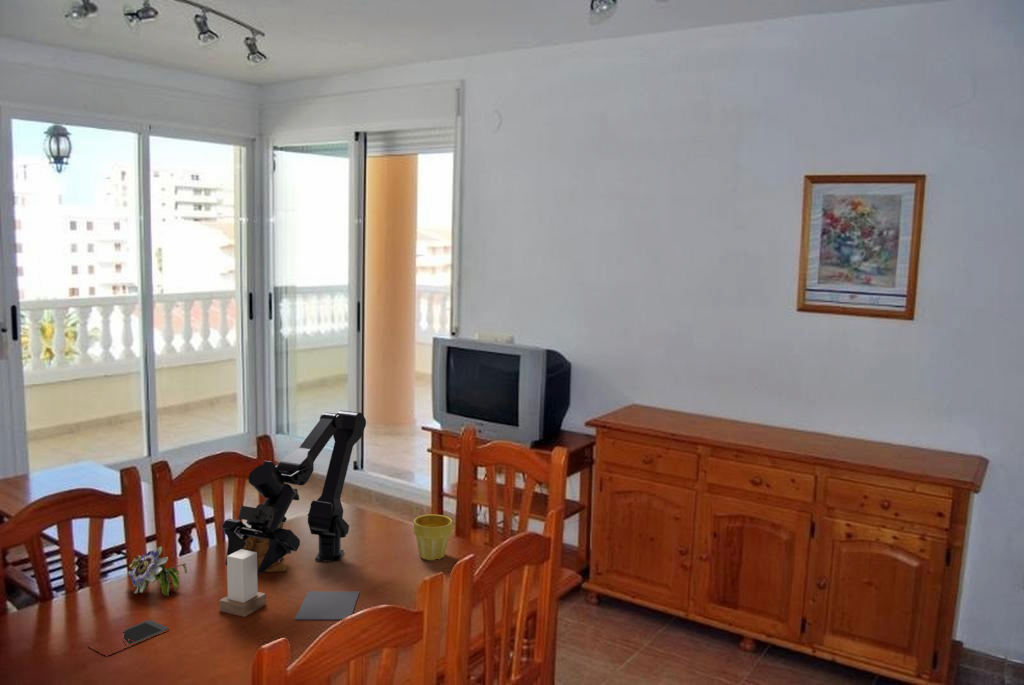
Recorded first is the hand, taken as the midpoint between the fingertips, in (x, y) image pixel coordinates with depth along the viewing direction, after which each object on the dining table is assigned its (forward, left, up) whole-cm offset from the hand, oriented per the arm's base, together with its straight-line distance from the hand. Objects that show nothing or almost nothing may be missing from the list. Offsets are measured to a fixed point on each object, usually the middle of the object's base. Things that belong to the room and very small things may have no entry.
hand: (243, 569), depth 177 cm
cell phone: (+14, -19, -10) cm, 26 cm away
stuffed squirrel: (-23, -2, -9) cm, 25 cm away
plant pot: (-31, +41, -9) cm, 52 cm away
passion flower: (-10, -23, -9) cm, 27 cm away
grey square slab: (0, 0, -9) cm, 9 cm away
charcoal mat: (-1, +19, -9) cm, 21 cm away
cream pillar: (0, 0, -6) cm, 6 cm away
